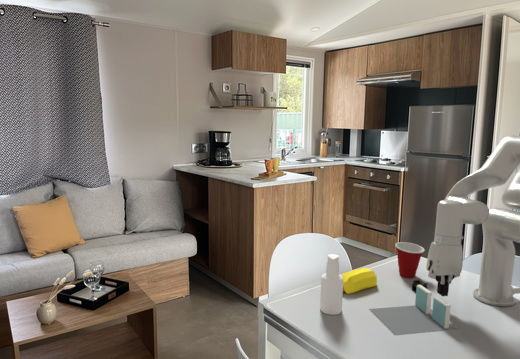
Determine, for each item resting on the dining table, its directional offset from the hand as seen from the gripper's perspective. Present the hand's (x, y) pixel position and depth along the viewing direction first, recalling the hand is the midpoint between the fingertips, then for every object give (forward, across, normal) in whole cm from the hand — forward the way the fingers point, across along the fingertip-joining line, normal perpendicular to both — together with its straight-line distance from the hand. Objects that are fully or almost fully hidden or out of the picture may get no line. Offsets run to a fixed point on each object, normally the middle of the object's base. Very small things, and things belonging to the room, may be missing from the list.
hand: (442, 294), depth 130 cm
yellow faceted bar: (+6, +20, -20) cm, 29 cm away
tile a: (+5, +7, 0) cm, 8 cm away
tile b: (+5, +7, +9) cm, 12 cm away
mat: (+5, +14, +5) cm, 16 cm away
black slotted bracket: (+6, 0, -12) cm, 14 cm away
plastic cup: (+5, -5, -28) cm, 29 cm away
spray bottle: (+5, +36, -5) cm, 37 cm away
